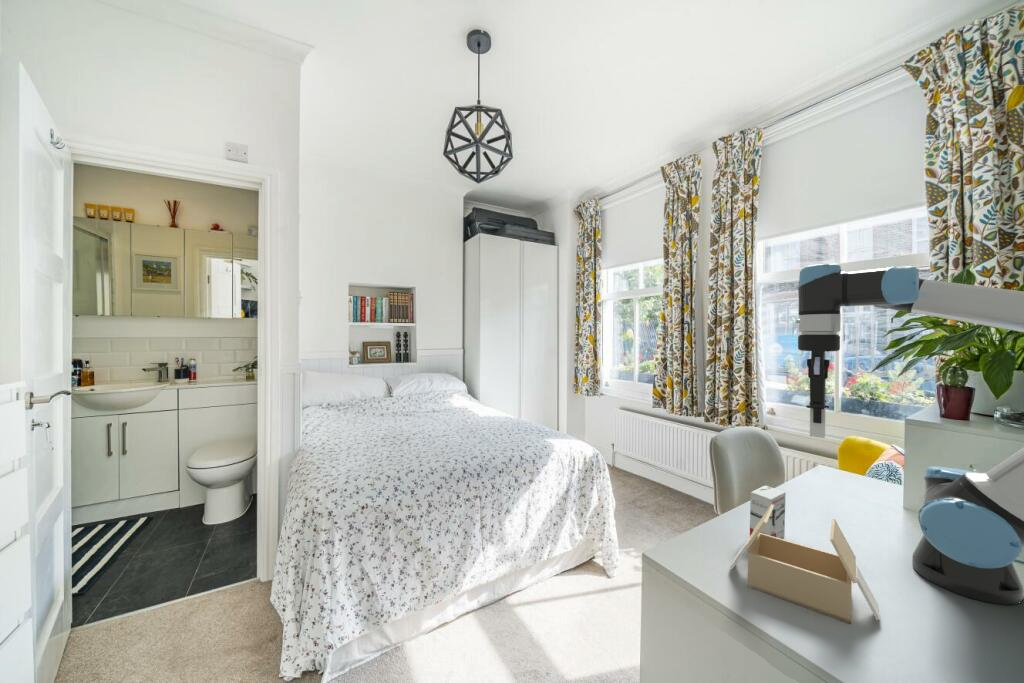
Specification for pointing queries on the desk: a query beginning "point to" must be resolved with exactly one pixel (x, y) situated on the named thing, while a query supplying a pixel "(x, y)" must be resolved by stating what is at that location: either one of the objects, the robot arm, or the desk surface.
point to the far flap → (753, 535)
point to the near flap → (852, 566)
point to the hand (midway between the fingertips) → (817, 436)
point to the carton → (800, 576)
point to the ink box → (760, 505)
